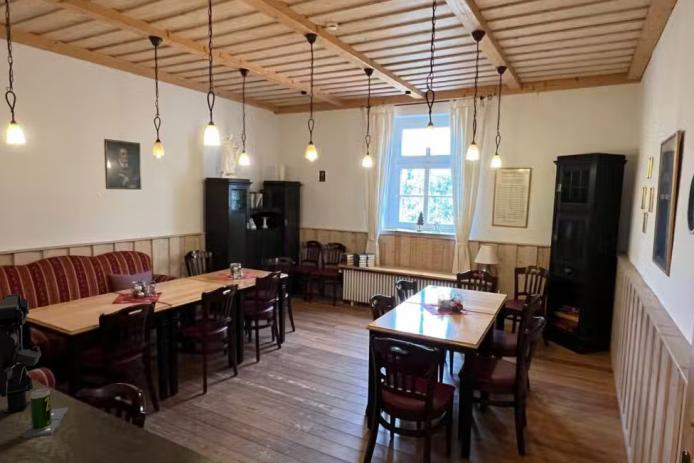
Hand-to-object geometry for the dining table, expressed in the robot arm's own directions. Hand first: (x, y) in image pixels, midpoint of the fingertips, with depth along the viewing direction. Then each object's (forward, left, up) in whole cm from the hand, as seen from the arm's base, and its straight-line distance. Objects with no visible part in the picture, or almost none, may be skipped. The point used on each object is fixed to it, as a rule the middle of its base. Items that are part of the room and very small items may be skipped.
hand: (11, 390), depth 141 cm
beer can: (+5, +10, -11) cm, 16 cm away
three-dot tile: (+5, +10, -12) cm, 17 cm away
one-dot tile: (-3, +10, -12) cm, 16 cm away
